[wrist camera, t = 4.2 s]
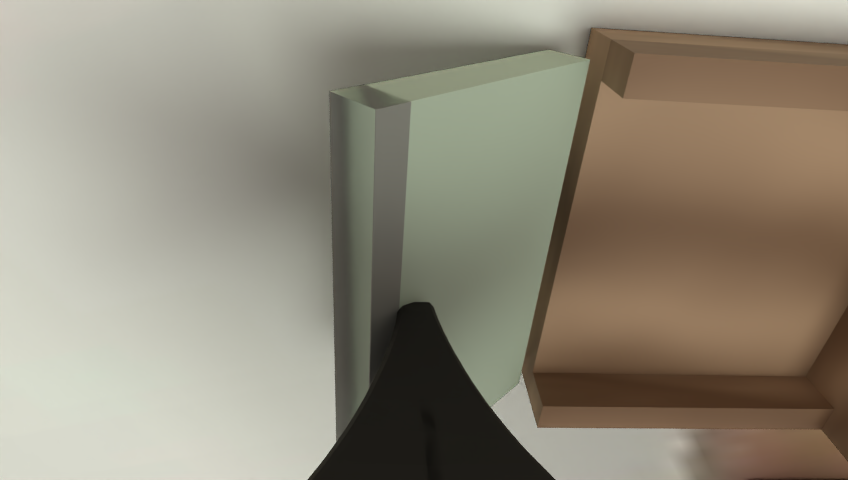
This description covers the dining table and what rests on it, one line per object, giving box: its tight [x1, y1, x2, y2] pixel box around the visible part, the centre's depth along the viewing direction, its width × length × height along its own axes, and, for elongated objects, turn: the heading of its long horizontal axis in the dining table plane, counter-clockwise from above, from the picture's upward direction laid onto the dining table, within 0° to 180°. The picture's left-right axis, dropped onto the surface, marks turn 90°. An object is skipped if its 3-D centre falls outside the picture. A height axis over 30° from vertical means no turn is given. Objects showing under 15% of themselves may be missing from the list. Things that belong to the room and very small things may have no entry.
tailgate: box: [329, 50, 590, 442], centre depth 14 cm, size 11×1×7 cm
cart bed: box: [522, 28, 848, 461], centre depth 16 cm, size 12×11×4 cm
